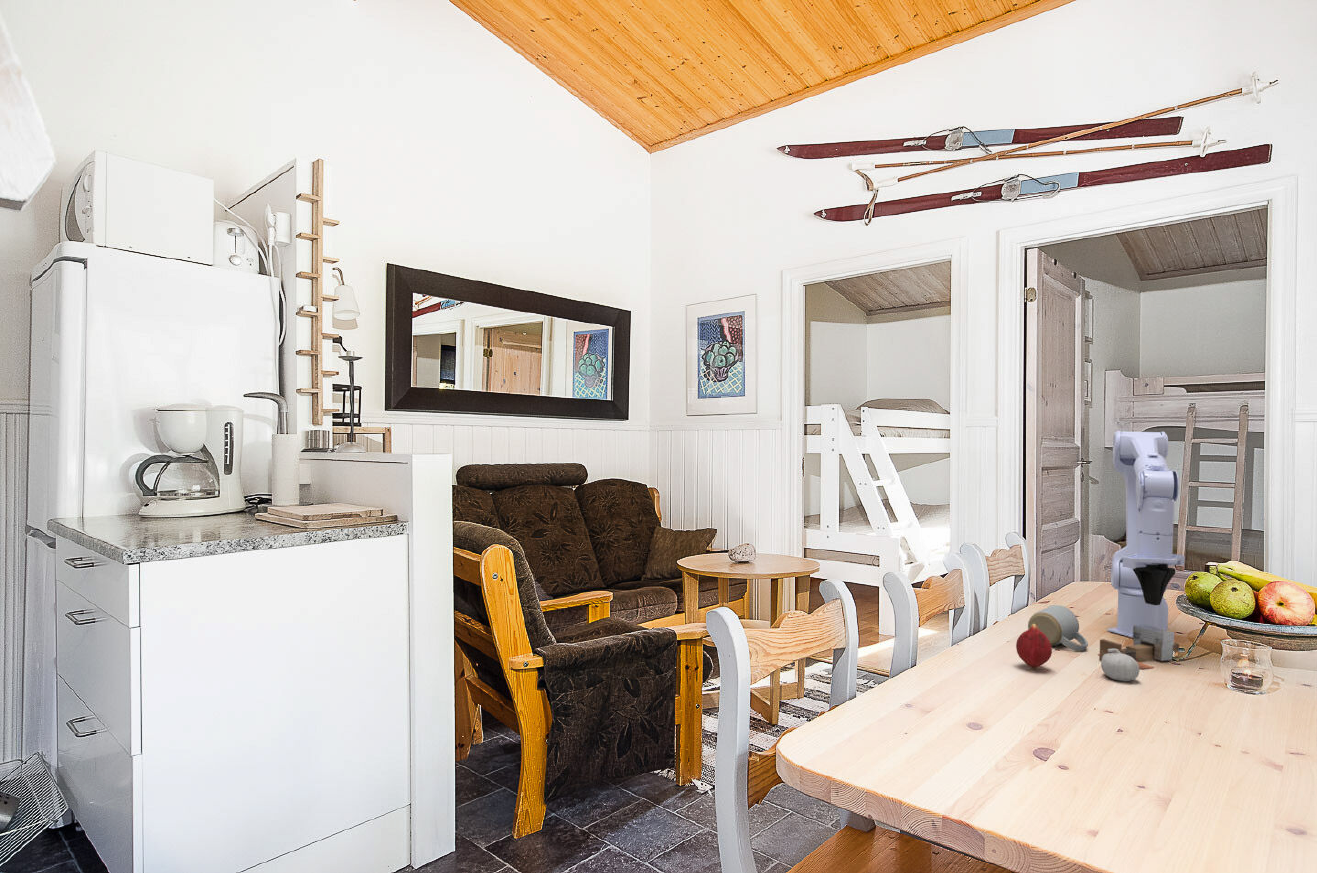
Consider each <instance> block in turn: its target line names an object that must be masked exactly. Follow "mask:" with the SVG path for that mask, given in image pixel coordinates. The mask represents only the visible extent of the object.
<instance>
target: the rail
mask: <svg viewBox="0 0 1317 873" xmlns="http://www.w3.org/2000/svg"><path fill="white" fill-rule="evenodd" d="M1122 646H1123V645H1122V644H1121V643H1118V642H1115V641H1112V640H1108V639H1105V638H1102V639H1099V653H1097V656H1099V659H1098V660H1099V661H1100V662H1101V661H1102V657H1103V655H1105V654H1108V653H1117V652H1108V649H1118V650H1119V651H1120V653H1122V654H1126V655H1128V656H1131V657H1132V658H1133V659H1134V660H1135V661H1136V662H1137V663H1138V665H1139V670H1148V669H1154V668H1155V667H1154V666H1153V665H1149V664H1146V663H1142V662H1149V661H1157V659H1154V650H1155V644H1153V643H1148V644H1140V645H1133V644H1132V645H1126V646H1125V648H1123V647H1122ZM1173 651H1174V652H1175V653H1176V652H1178V651H1179V652H1180V643H1178V642H1174V645H1173Z"/></svg>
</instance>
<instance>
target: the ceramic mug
mask: <svg viewBox="0 0 1317 873" xmlns="http://www.w3.org/2000/svg"><path fill="white" fill-rule="evenodd" d="M1032 624H1036V625H1037V628H1038V629H1039V630H1040V631H1041V632H1043V633H1044V634H1045V635H1046V636H1047V638H1048V639H1049V641H1050V643H1051V646H1052V647H1053V646H1057V645H1063V646H1065V647H1067V648H1069V649H1071V650H1072V651H1075V652H1084V651H1086V649H1087V647H1088V645H1089V642H1088V640H1087V639H1086V637H1084V635H1082V634H1081V633H1080V632H1079V631H1080V623H1079V620H1078V618H1077V616H1076V615H1075V613H1074V612H1073V610H1071V609H1070V608H1068V607H1066V606H1065V605H1064V606H1063V605H1061V604H1054V605H1053V604H1052V605H1049V606H1047V607H1045V608H1043V609H1041V610H1038V611H1037V612H1035V613H1034V614H1033V615H1031V617H1030V618H1029V620H1028V622H1027V630H1029V629H1030V628H1031V626H1032ZM1074 639H1075V641H1077V642H1078V643H1079V644H1077V643H1076V642H1073V641H1072V640H1074Z"/></svg>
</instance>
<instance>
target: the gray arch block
mask: <svg viewBox="0 0 1317 873" xmlns="http://www.w3.org/2000/svg"><path fill="white" fill-rule="evenodd" d="M1132 639H1133V642H1132V643H1133V644H1132V645H1140V644H1148V643H1153V644H1155V650H1154V659H1157V660H1158V661H1161V662H1164V661H1172V660H1173V658H1172V654H1173V645H1174V643H1175V632H1174V631H1171V630H1168V629H1167V630H1163V629H1159V628H1156V627H1152V626H1148V625H1144V624H1143V625H1133V638H1132ZM1157 660H1156V661H1157Z"/></svg>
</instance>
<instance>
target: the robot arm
mask: <svg viewBox="0 0 1317 873" xmlns="http://www.w3.org/2000/svg"><path fill="white" fill-rule="evenodd" d="M1168 451H1169V438H1168V434H1167V433H1166V432H1165V431H1160V432H1159V431H1158V432H1157V431H1156V432H1155V431H1124V430H1123V431H1121V430H1116V431H1115V432H1114V434H1113V438H1112V464H1113V467H1114V470H1115V471H1117V472H1118V473H1120V474H1122V476H1123V477H1122V478H1123V480H1124V483H1125V524H1126V525H1125V529H1126V530H1125V531H1126V532H1125V534H1126V536H1125V537H1126V540H1125V541H1126V546H1124V547H1123V548H1121V549H1118V550H1117V551H1115V552H1114V554H1113V555H1112V558H1111V565H1110V566H1111V567H1110V584H1111V587H1113V589H1114V590H1117V613H1116V614H1117V619H1116V622H1117V623H1116V627H1111V628H1110V627H1109V628H1107V632H1111V633H1115V634H1118V635H1122V636H1125V637H1129V638H1132V639H1134V638H1133V625H1143V624H1144V625H1148V626H1152V627H1156V628H1159V629H1163V630H1167V631H1168V629H1169V628H1168V627H1169V626H1168V625H1169V605H1168V602H1167V600H1166V598H1165V597H1164V595H1165V592H1166V591H1167V588H1168V585H1169V583H1170V581H1171V579H1172V578H1173V577H1174V576H1175V574H1176V568H1173V567H1169V566H1185V560H1186V557H1185V555H1183V554H1182V555H1181V554H1177V553H1173V550H1174V548H1173V546H1174V545H1173V543H1174V521H1175V520H1174V519H1175V517H1174V516H1175V502H1177V500H1178V497H1179V494H1180V493H1179V492H1180V491H1179V490H1180V480H1179V479H1180V478H1179V474H1178V472H1177V470H1173V469H1172V470H1170V467H1169V465H1168V462H1167V460H1166V458H1167V457H1168V454H1169V453H1168Z"/></svg>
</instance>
